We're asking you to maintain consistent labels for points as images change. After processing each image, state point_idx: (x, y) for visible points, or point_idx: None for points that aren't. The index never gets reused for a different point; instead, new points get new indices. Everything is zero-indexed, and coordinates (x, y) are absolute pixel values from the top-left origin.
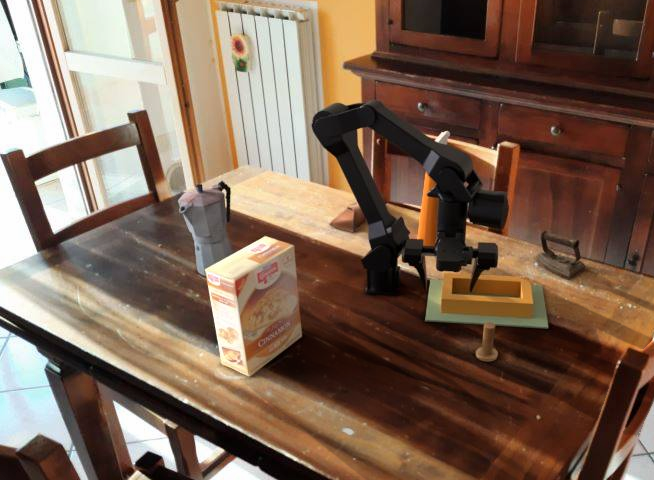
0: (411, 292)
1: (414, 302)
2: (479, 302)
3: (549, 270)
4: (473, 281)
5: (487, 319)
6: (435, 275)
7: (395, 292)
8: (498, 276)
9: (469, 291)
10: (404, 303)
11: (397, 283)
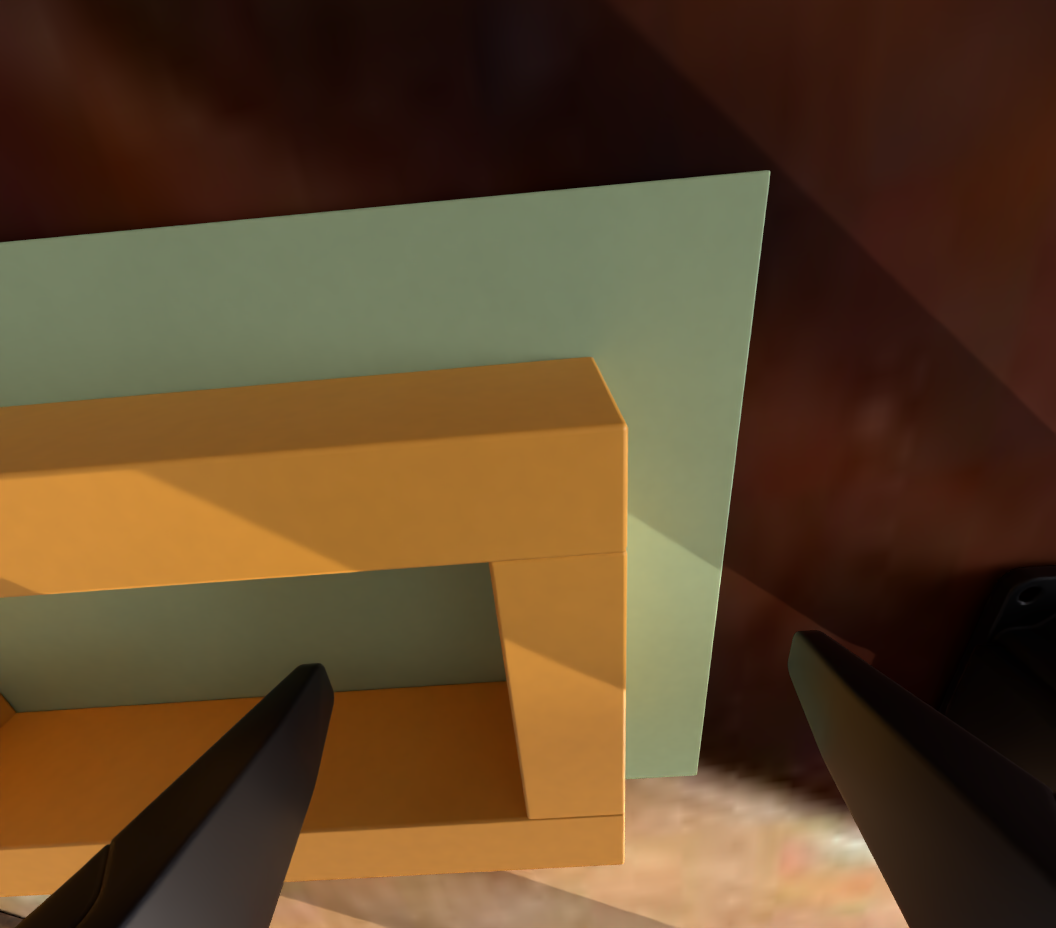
0: (846, 631)
1: (839, 508)
2: (64, 457)
3: (18, 919)
4: (183, 810)
5: (69, 323)
6: (658, 810)
7: (1015, 598)
8: None
9: (325, 670)
10: (937, 478)
11: (1040, 688)
